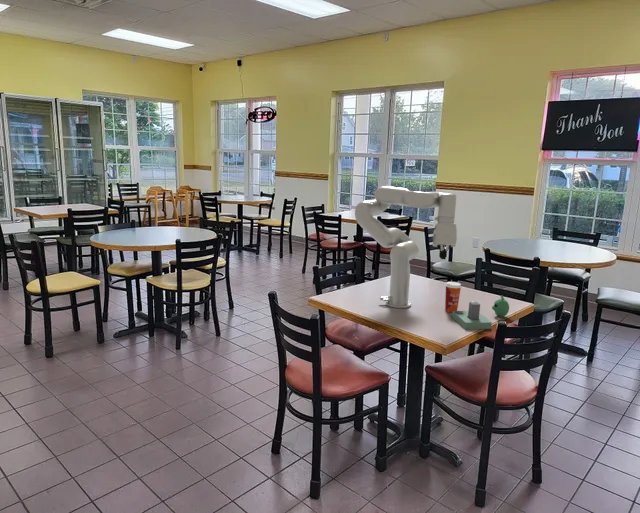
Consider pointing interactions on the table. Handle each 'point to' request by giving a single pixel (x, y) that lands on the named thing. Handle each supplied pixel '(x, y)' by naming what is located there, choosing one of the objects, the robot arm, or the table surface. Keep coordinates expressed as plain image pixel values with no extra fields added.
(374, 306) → the table surface
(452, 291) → the paper cup
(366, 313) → the table surface
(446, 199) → the robot arm
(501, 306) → the alien toy
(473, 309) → the keyed plug
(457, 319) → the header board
